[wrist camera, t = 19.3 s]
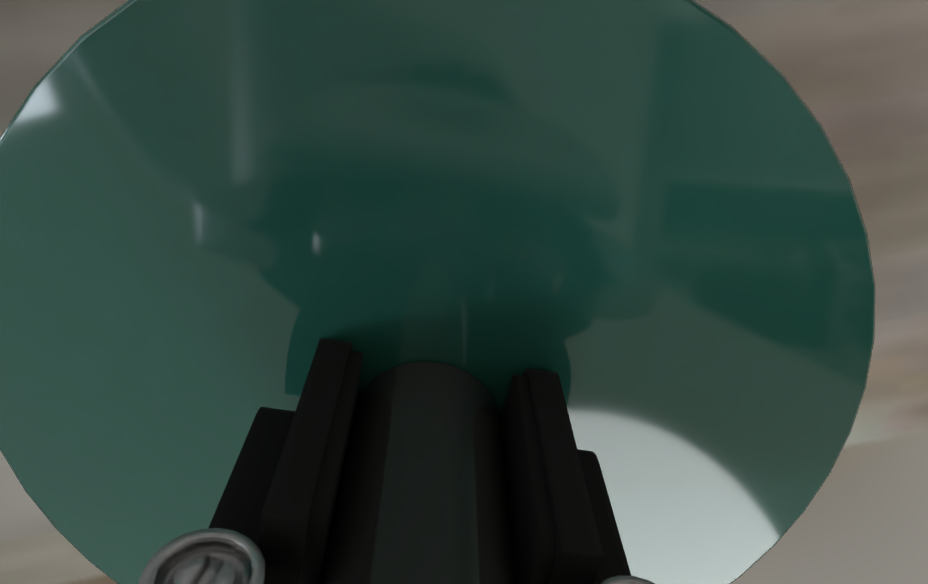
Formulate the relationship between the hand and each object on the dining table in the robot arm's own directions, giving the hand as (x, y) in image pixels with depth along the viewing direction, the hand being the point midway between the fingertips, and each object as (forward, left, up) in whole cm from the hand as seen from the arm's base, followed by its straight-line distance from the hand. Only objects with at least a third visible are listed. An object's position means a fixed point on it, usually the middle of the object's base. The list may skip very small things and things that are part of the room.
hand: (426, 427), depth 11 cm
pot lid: (0, 0, -1) cm, 1 cm away
